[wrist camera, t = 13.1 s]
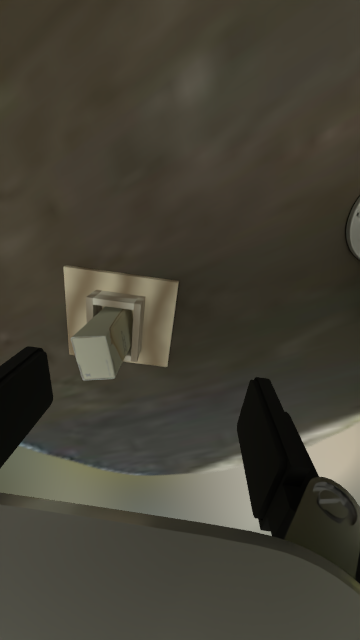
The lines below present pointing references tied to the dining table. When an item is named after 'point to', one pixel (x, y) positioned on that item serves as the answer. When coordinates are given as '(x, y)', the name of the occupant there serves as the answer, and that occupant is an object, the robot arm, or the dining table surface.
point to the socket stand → (127, 293)
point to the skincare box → (103, 343)
